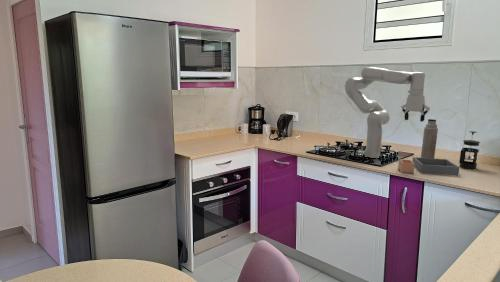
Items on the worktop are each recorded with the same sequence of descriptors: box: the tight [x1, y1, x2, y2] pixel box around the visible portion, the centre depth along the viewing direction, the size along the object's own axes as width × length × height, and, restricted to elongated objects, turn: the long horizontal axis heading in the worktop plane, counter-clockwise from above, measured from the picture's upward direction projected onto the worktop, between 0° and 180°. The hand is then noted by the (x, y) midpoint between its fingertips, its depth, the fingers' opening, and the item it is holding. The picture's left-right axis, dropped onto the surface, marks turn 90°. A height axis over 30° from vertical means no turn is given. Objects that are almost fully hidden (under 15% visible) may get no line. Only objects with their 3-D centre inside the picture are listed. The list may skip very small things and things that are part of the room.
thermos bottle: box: [420, 118, 439, 159], centre depth 233 cm, size 8×8×28 cm
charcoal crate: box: [411, 156, 461, 177], centre depth 213 cm, size 20×20×5 cm
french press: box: [458, 130, 481, 171], centre depth 219 cm, size 12×9×23 cm
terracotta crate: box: [397, 158, 415, 174], centre depth 208 cm, size 7×9×6 cm
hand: (414, 120), depth 219 cm, fingers open, 9 cm apart
